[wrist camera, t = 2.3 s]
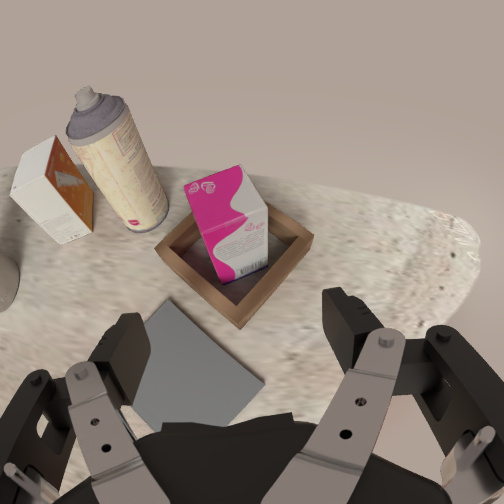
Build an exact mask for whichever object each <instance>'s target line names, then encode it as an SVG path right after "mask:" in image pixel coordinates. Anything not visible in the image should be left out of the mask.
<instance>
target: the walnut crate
mask: <svg viewBox="0 0 504 504" xmlns="http://www.w3.org/2000/svg"><path fill="white" fill-rule="evenodd" d="M263 201H264V200H263ZM264 202H265V201H264ZM265 204H266V205H267V207H268V231H269V232H270V233H272V234H273V235H275V236H276V237H277V238H279V239H280V240H282V241H283V242H284V243H286V244H287V245H289V246H290V247H289V248H288V249H287V250H286V251H285V253H284V254H283V255H282V256H281V257H280V258H279V259H278V261H277V262H276V263H275V264H274V265H273V266H272V267H271V268H270V270H269V271H268V272H267V273H266V274H265V275H264V276H263V277H262V279H261V280H260V281H259V282H258V283H257V284H256V285H255V286H254V287H253V289H252V290H251V291H250V292H249V293H248V294H247V295H246V296H245V297H244V299H243V300H242V301H241V302H240V303H239V304H238V305H237V306H236V305H234V304H233V303H232V302H231V301H230V300H228V299H227V298H226V297H225V296H224V295H222V294H221V293H220V292H219V291H218V290H217V289H215V288H214V287H213V286H212V285H211V284H210V283H208V282H207V281H206V280H205V279H204V278H203V277H202V276H200V275H199V274H198V273H197V272H196V271H195V270H194V269H192V268H191V267H190V266H189V265H188V264H187V263H186V262H185V261H183V260H182V259H181V258H180V257H181V256H182V255H183V254H184V253H185V252H186V251H187V250H188V249H189V248H190V247H191V246H192V245H193V244H194V243H195V242H196V241H197V240H198V239H199V238H200V237H201V233H200V231H199V228H198V225H197V223H196V220H195V218H194V215H193V212H192V213H191V214H190V215H189V216H187V217H186V218H185V219H184V220H183V221H182V222H181V223H180V224H179V225H178V226H177V227H176V228H175V229H174V230H173V231H172V232H170V233H169V234H168V235H167V236H166V237H165V238H164V239H163V240H162V241H161V242H160V243H159V244H158V245H157V246H156V247H155V248H154V249H155V250H156V252H157V253H158V255H159V256H160V257H161V259H162V260H163V261H164V262H165V263H166V264H167V265H168V266H169V267H170V268H171V269H172V270H173V271H174V272H175V273H176V274H177V275H178V276H179V277H181V278H182V279H183V280H184V281H185V282H186V283H187V284H188V285H189V286H190V287H191V288H193V289H194V290H195V291H196V292H197V293H198V294H199V295H200V296H201V297H203V298H204V299H205V300H206V301H207V302H208V303H209V304H210V305H212V306H213V307H214V308H215V309H216V310H217V311H218V312H220V313H221V314H222V315H223V316H224V317H225V318H227V319H228V320H229V321H230V322H231V323H232V324H234V325H235V326H236V327H237V328H238V329H239V330H241V329H242V328H243V326H244V325H245V324H246V323H247V322H248V321H249V320H250V319H251V317H252V316H253V315H254V314H255V313H256V312H257V311H258V309H259V308H260V307H261V306H262V305H263V304H264V303H265V301H266V300H267V299H268V298H269V297H270V296H271V295H272V293H273V292H274V291H275V290H276V289H277V288H278V286H279V285H280V284H281V283H282V282H283V281H284V279H285V278H286V277H287V276H288V275H289V274H290V272H291V271H292V270H293V269H294V268H295V266H296V265H297V264H298V263H299V262H300V260H301V259H302V258H303V257H304V256H305V254H306V253H307V252H308V251H309V250H310V247H311V244H312V241H313V238H314V234H312V233H311V232H310V231H308V230H307V229H305V228H304V227H302V226H301V225H299V224H298V223H297V222H295V221H294V220H292V219H291V218H289V217H288V216H286V215H285V214H283V213H282V212H280V211H279V210H277V209H276V208H274V207H273V206H271V205H270V204H268V203H267V202H265Z"/></svg>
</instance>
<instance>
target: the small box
mask: <svg viewBox="0 0 504 504" xmlns="http://www.w3.org/2000/svg"><path fill="white" fill-rule="evenodd" d="M10 196H11V197H12V198H13V199H14V201H15V202H16V203H17V204H18V205H19V206H20V207H21V208H22V209H23V210H24V211H25V212H26V213H27V214H28V215H29V216H30V217H31V218H32V219H33V220H34V221H35V222H36V223H37V224H38V225H39V226H40V227H41V228H42V229H43V230H45V231H46V232H47V233H48V234H49V235H50V236H51V237H52V238H53V239H54V240H55V241H56V242H58V243H59V244H60V245H62V244H65V243H67V242H70V241H72V240H75V239H77V238H80V237H82V236H85V235H87V234H90V233H92V232H93V230H92V206H93V191H92V190H91V188H90V187H89V185H88V184H87V183H86V181H85V180H84V178H83V177H82V175H81V174H80V172H79V171H78V169H77V168H76V166H75V165H74V163H73V162H72V160H71V159H70V157H69V155H68V154H67V152H66V151H65V149H64V148H63V146H62V144H61V143H60V141H59V139H58V138H57V136H56V135H54V136H52V137H51V138H48V139H47V140H45V141H43V142H41V143H39V144H37V145H36V146H34V147H32V148H31V149H29V150H27V151H25V152H24V153H23V154H22V157H21V160H20V163H19V165H18V168H17V170H16V173H15V177H14V181H13V185H12V188H11V192H10Z"/></svg>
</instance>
